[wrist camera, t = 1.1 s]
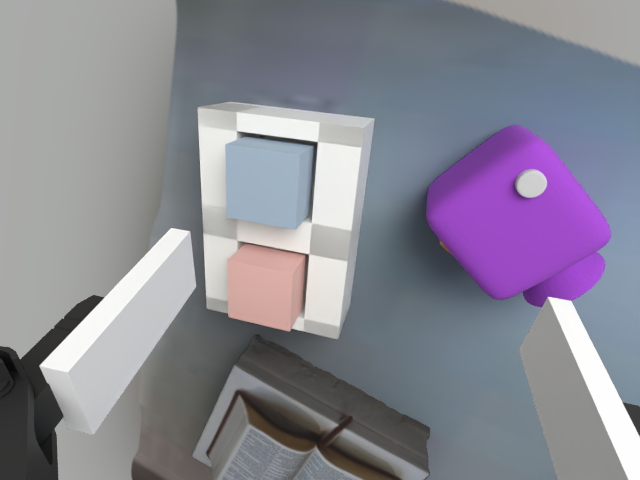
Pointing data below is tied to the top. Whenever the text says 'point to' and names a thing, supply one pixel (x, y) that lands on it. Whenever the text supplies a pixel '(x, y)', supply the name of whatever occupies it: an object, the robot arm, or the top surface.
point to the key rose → (265, 286)
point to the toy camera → (519, 220)
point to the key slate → (268, 181)
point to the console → (324, 211)
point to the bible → (305, 426)
